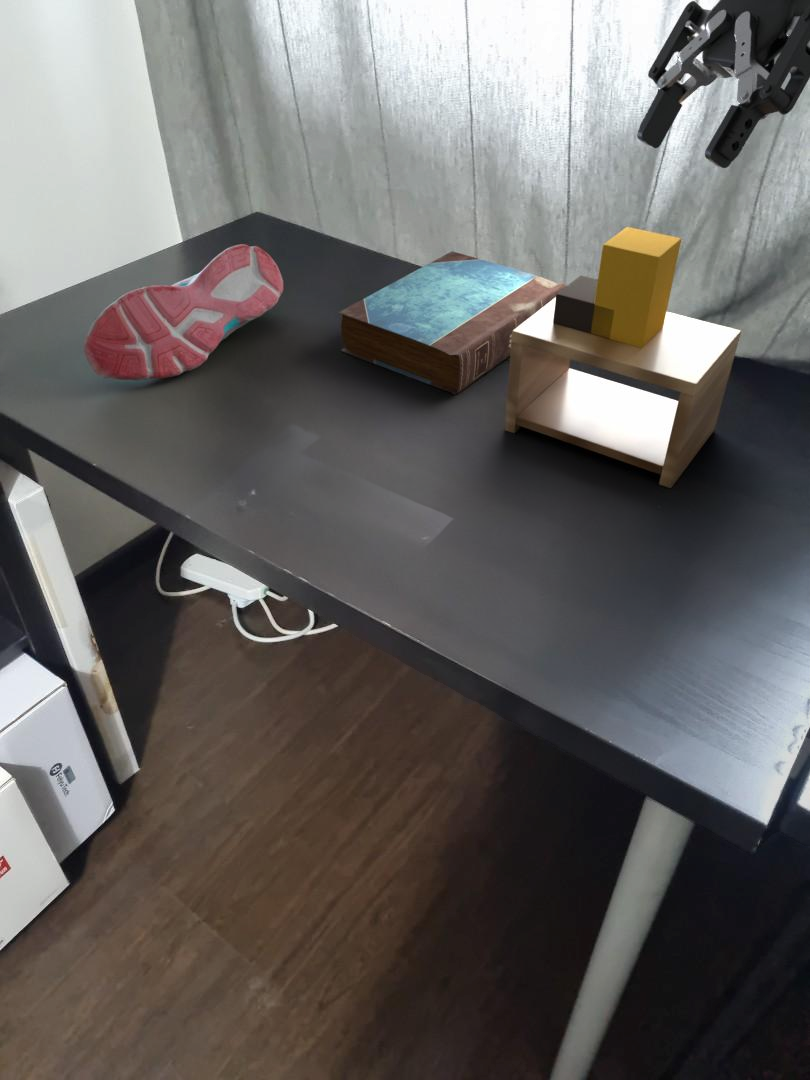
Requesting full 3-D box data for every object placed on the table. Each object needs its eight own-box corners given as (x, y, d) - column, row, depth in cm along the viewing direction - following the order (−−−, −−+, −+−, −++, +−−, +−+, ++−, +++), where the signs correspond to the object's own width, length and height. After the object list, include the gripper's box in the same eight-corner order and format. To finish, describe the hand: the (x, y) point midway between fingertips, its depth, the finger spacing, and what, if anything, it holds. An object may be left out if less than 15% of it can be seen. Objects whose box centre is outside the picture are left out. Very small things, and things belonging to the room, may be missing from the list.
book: (458, 396, 91) (460, 355, 88) (338, 350, 99) (336, 311, 96) (562, 321, 105) (567, 283, 101) (449, 286, 113) (450, 250, 110)
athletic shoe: (266, 306, 111) (204, 232, 107) (299, 281, 104) (233, 201, 99) (132, 434, 99) (54, 356, 94) (158, 417, 91) (75, 331, 87)
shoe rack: (714, 430, 85) (741, 330, 78) (670, 488, 78) (696, 384, 71) (557, 381, 93) (568, 286, 86) (504, 430, 86) (512, 330, 78)
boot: (663, 326, 79) (682, 238, 73) (641, 348, 75) (659, 257, 70) (576, 303, 83) (588, 218, 77) (552, 323, 80) (562, 235, 74)
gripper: (708, -100, 62) (595, 117, 68) (858, -114, 51) (708, 146, 57) (766, -42, 66) (655, 158, 72) (916, -43, 55) (771, 192, 61)
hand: (678, 152), depth 65 cm, fingers open, 8 cm apart
